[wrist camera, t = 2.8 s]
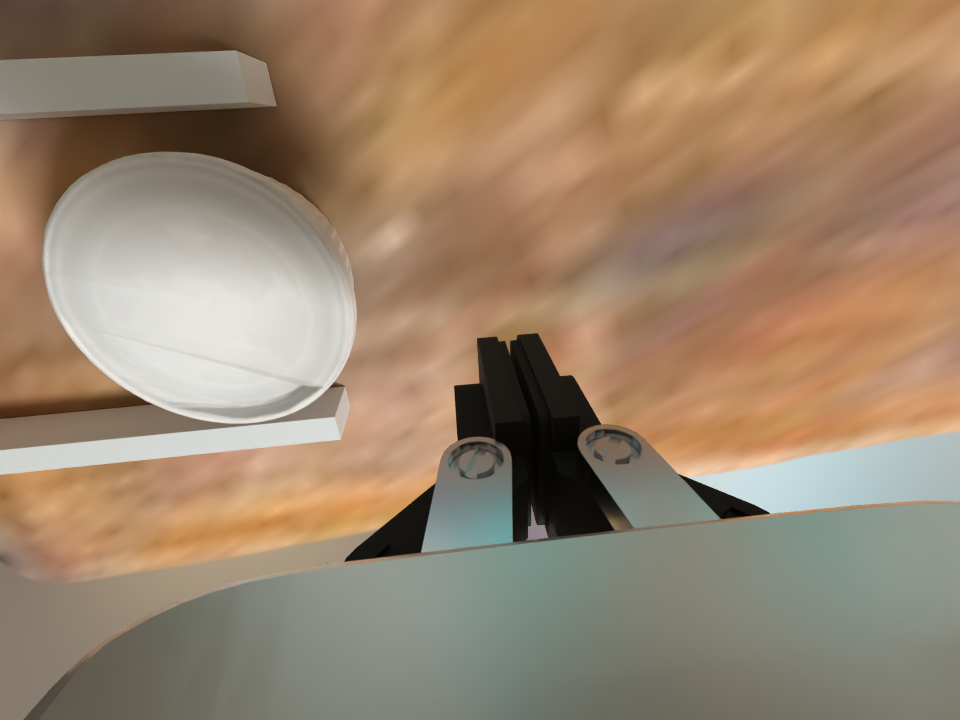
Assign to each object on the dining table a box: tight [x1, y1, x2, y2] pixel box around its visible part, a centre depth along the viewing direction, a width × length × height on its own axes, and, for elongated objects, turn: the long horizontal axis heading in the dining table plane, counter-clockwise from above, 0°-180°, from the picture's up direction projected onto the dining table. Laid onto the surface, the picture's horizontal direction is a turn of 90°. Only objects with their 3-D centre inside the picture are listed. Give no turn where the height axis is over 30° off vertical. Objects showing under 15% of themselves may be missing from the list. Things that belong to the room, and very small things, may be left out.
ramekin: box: [42, 152, 357, 424], centre depth 19 cm, size 11×11×5 cm
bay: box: [0, 50, 350, 475], centre depth 19 cm, size 17×22×4 cm
